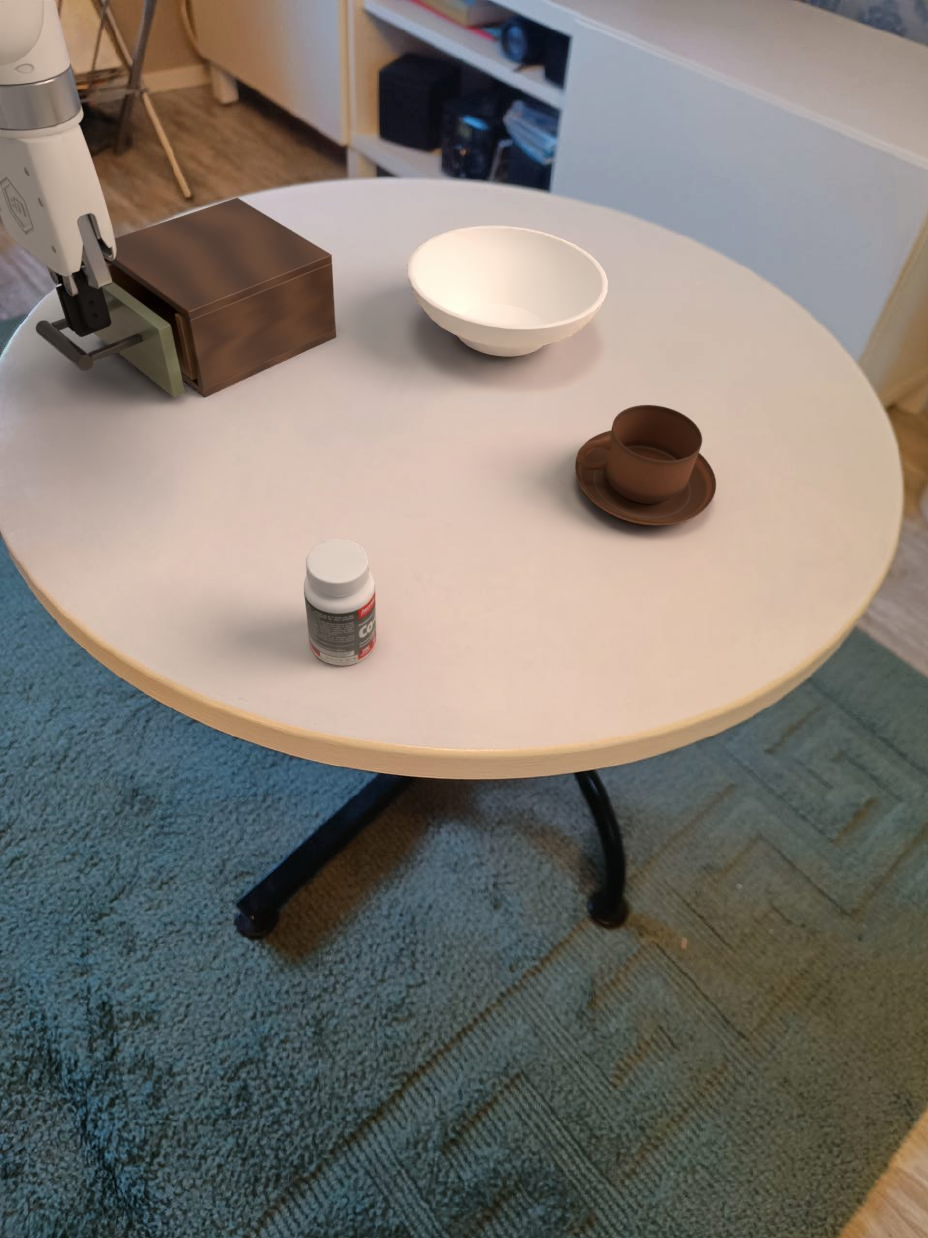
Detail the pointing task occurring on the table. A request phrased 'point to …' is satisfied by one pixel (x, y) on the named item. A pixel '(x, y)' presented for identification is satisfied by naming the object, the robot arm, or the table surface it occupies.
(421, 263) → the bowl
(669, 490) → the cup and saucer
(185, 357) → the drawer
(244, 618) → the table surface
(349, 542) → the pill bottle
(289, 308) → the cabinet
